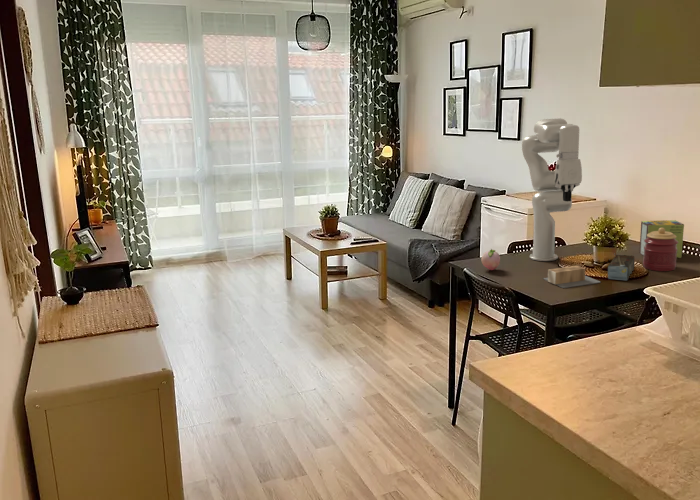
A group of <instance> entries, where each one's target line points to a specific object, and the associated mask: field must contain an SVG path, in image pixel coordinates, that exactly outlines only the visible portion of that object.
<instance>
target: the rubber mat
mask: <svg viewBox="0 0 700 500" xmlns="http://www.w3.org/2000/svg"><path fill="white" fill-rule="evenodd" d="M542 280H544V281H546V282H548V277H543V278H542ZM549 283H550V284H552V283H551V282H549ZM594 284H601V281H600V280H598V279H594V277H593V278H592V277H590V276H587V275H585V280H583V281H576V282H569V283H562V284H554V285H555V286H557V287H559V288H562V289H567V288H574V287H580V286H588V285H589V286H590V285H594Z"/></svg>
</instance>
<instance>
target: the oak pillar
mask: <svg viewBox="0 0 700 500" xmlns="http://www.w3.org/2000/svg"><path fill="white" fill-rule="evenodd" d="M585 276H586V268H585V267H582V266H581V265H571V266H565V267H557V268H551V269H550V268H549V269H547V278H548V281H547V282H549V283H550V282H551V283H550V284H553V285H555V284H562V283H569V282H576V281H583V280H585Z"/></svg>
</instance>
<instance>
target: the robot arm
mask: <svg viewBox="0 0 700 500" xmlns="http://www.w3.org/2000/svg"><path fill="white" fill-rule="evenodd" d="M533 132H534V134H533V135H528V136H525V138H523V139H522V143H521V150H522V152H521V153H522V156H523V157H524V161H525V162H526V164H527V165H528V169H529V175H530V181H531V186H532V189H533V190H534V191H535V192H536V193H535V194H534V195H533V196H532V198H531V199H532V200H531V204H532V205H531V206H532V213H533V241H532V242H533V246H532V247H531V248H530V250H531V251H532V253H531V254H530V255H529V259H531V260H533V261H537V262H551V261H552V262H553V261H557V260H558V255H557V253H556V254H555V243H556V242H555V240H556V237H555V236H556V220H555V218H554V217H553V215H551V213H560V212H569V210H570V209H571V208H572V206H573V199H572V192H574V189H575V188H576V187H579V186H580V184H581V183H582V180H583V170H582V163H581V159H580V158H579V151H580V150H579V146H580V127H579V126H578V125H576V124H573V123H568V122H567V121H566V120H565V118H561V117H560V118H558V117H557V118H544V119H540V120H538V121H537V122H536V123H535V124H534V126H533ZM557 152H558V153H557ZM540 153H541V154H544V153H545V154H546V153H557V154H556V158H558V159H557V162H556V165H555V170H550V169H549V166H548V165H549V164H548V162H547V160H546V159H544V157H542V155H540Z"/></svg>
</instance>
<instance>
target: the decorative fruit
mask: <svg viewBox="0 0 700 500" xmlns="http://www.w3.org/2000/svg"><path fill="white" fill-rule="evenodd" d="M480 260H481V261H480V262H481V264H482V265H483V267H485V268H486V269H488V270H490V271H494V270H495V269H497V268H498V267H499V266H500V263H501V255H500V253H498V251H496V250H495V249H492V248H490V250H487V251H485V252H484V253H483V254H482V256H481V259H480Z"/></svg>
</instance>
